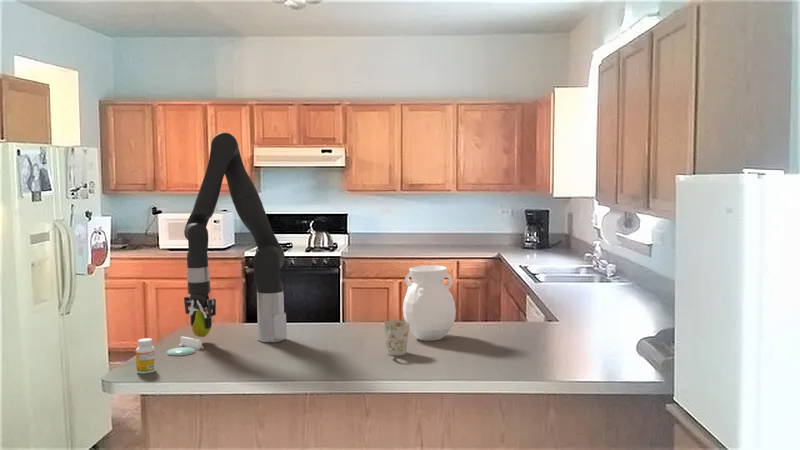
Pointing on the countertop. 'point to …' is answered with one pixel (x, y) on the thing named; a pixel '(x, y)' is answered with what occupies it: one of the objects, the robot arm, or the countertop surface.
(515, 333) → the countertop surface
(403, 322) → the mug
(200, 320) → the fruit
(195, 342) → the rail
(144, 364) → the supplement bottle
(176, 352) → the pad
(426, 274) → the white handled vase
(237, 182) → the robot arm
